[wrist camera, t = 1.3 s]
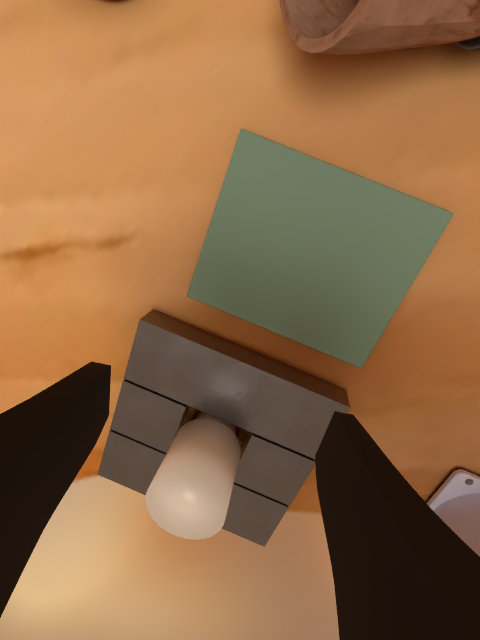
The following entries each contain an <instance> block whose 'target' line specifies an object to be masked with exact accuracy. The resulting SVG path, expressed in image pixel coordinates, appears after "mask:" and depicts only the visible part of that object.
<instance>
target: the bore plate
mask: <svg viewBox="0 0 480 640" xmlns="http://www.w3.org/2000/svg"><path fill="white" fill-rule="evenodd" d="M189 406H190V407H193V408H195V409H198V410H200V411H202V412H205V413H207V414H209V415H212V416H214V417H216V418H219V419H221V420H223V421H226V422H228V423H230V424H233V425H235V426H238V427H240V428H242V429H245V430H247V431H249V432H248V434H247V436H246V438H245V440H244V442H243V445H242V447H241V454H240V459H239V463H238V467H237V472H236V476H235V480H234V484H233V489H232V493H231V497H230V501H229V506H228V510H227V514H226V518H225V522H224V525H223V527H222V529H225V530H227V531H230V532H232V533H234V534H236V535H239V536H241V537H243V538H246V539H248V540H250V541H252V542H255V543H257V544H259V545H262V546H265V545H266V543H267V542H268V540H269V538H270V537H271V535H272V533H273V532H274V530H275V529H276V527H277V525H278V524H279V522H280V520H281V519H282V517H283V515H284V514H285V512H286V511H287V509H288V505H289V506H290V504H291V503H292V501H293V499H294V498H295V496H296V494H297V493H298V491H299V490H300V488H301V486H302V485H303V483H304V481H305V480H306V478H307V477H308V475H309V473H310V472H311V470H312V468H313V467H314V465H315V464H316V463H315V455H316V453H317V450H318V448H319V446H320V443H321V441H322V439H323V437H324V434H325V432H326V430H327V427H328V425H329V423H330V420H331V418H332V416H333V414H334V411H337V412H342V413H347V411H348V410H349V408H350V405H349V401H348V397H347V392H346V390H345V389H342V388H340V387H338V386H335V385H333V384H331V383H328V382H326V381H323V380H321V379H319V378H316V377H314V376H311V375H309V374H307V373H304V372H302V371H299V370H297V369H295V368H292V367H290V366H287V365H285V364H283V363H280V362H278V361H275V360H273V359H271V358H268V357H266V356H263V355H261V354H259V353H256V352H254V351H251V350H249V349H247V348H244V347H242V346H239V345H237V344H235V343H232V342H230V341H227V340H225V339H223V338H220V337H218V336H215V335H213V334H211V333H208V332H206V331H203V330H201V329H199V328H196V327H194V326H191V325H189V324H187V323H184V322H182V321H180V320H177V319H175V318H172V317H170V316H168V315H165V314H163V313H160V312H158V311H156V310H152V311H150V312H149V313H148V314H146V315H145V316H144V317H142V318H141V319H140V321H139V324H138V328H137V332H136V335H135V339H134V343H133V346H132V350H131V354H130V357H129V361H128V365H127V368H126V372H125V376H124V380H123V383H122V387H121V391H120V394H119V398H118V402H117V405H116V409H115V413H114V416H113V420H112V424H111V427H110V429H111V430H110V431H109V435H108V438H107V442H106V446H105V449H104V453H103V457H102V460H101V464H100V468H99V471H98V475H100V476H103V477H105V478H107V479H109V480H112V481H114V482H117V483H119V484H121V485H123V486H126V487H128V488H130V489H132V490H135V491H137V492H139V493H142V494H144V495H146V492H147V490H148V488H149V486H150V484H151V482H152V480H153V479H154V477H155V475H156V473H157V471H158V469H159V467H160V465H161V463H162V461H163V460H164V458H165V456H166V454H167V452H168V450H169V448H170V446H171V444H172V442H173V440H174V439H175V437H176V435H177V433H178V431H179V429H180V428H181V426H182V423H183V421H184V418H185V415H186V413H187V410H188V407H189Z"/></svg>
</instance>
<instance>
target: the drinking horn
mask: <svg viewBox="0 0 480 640" xmlns="http://www.w3.org/2000/svg"><path fill="white" fill-rule="evenodd" d="M280 7H281V11H282V16H283V21H284V24H285V26H286V29H287V32H288V34H289V36H290V37H291V39H292V41H293V42H294V44H295V45H297V46H298V47H299V48H300V49H301V50H303V51H306V52H309V53H318V54H331V55H350V54H366V53H376V52H383V51H391V50H399V49H408V48H417V47H426V46H435V45H441V44H447V43H454V44H456V45H458V46H460V47H462V48H464V49H466V50H474V49H480V0H280Z"/></svg>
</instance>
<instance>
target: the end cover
mask: <svg viewBox="0 0 480 640" xmlns="http://www.w3.org/2000/svg"><path fill="white" fill-rule="evenodd" d="M235 434H236V426H235V425H233V424H230V423H228V422H226V421H223V420H221V419H219V418H216V417H214V416H212V415H209V414H207V413H205V412H202V411H201V412H200V413H199V414H198V415H197V417H196V419H194V420H191V421H189V422H187V423H185V424H184V425H183V426H182V427H181V428H180V429H179V431H178V433H177V435H176V437H175V439H174V440H173V442H172V444H171V446H170V448H169V450H168V452H167V454H166V456H165V458H164V460H163V461H162V463H161V465H160V467H159V469H158V471H157V473H156V475H155V477H154V479H153V480H152V482H151V484H150V486H149V488H148V490H147V492H146V497H145V504H146V508H147V510H148V513H149V514H150V516H151V518H152V519H153V520H154V521H155V522H156V524H158V525H159V526H160V527H161V528H163V529H164V530H165V531H167V532H169V533H171V534H173V535H175V536H178V537H181V538H185V539H194V540H195V539H197V540H198V539H205V538H208V537H211V536H213V535H215V534H216V533H217V532H219V531H220V530H221V528H222V527H223V525H224V522H225V518H226V514H227V510H228V506H229V501H230V497H231V493H232V489H233V484H234V480H235V476H236V472H237V467H238V463H239V459H240V454H241V447H240V443H239V440H238V438H237V437H236V435H235Z"/></svg>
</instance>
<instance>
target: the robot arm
mask: <svg viewBox="0 0 480 640" xmlns="http://www.w3.org/2000/svg"><path fill="white" fill-rule="evenodd" d="M110 377H111V365H106V364H101V363H96V362H90V363H88V364H87V365H85V366H83V367H82V368H80V369H78V370H77V371H75V372H73V373H72V374H70V375H68V376H67V377H65V378H63V379H62V380H60V381H59V382H57V383H55V384H54V385H52V386H50V387H48V388H47V389H45V390H43V391H42V392H40V393H38V394H36V395H35V396H33V397H31V398H30V399H28V400H26V401H24V402H22V403H20V404H18V405H16V406H15V407H13V408H11V409H9V410H7V411H5V412H3V413H1V414H0V617H1V615H2V613H3V611H4V609H5V607H6V605H7V603H8V600H9V598H10V596H11V594H12V592H13V590H14V588H15V586H16V584H17V582H18V580H19V578H20V576H21V573H22V571H23V569H24V568H25V566H26V564H27V562H28V559H29V558H30V556H31V554H32V552H33V549H34V548H35V546H36V544H37V542H38V540H39V538H40V535H41V534H42V532H43V530H44V528H45V526H46V525H47V523H48V521H49V519H50V518H51V516H52V514H53V512H54V511H55V509H56V508H57V506H58V504H59V503H60V501H61V499H62V498H63V496H64V495H65V493H66V491H67V490H68V488H69V487H70V485H71V483H72V482H73V480H74V479H75V477H76V475H77V474H78V472H79V470H80V469H81V467H82V466H83V464H84V462H85V461H86V459H87V457H88V456H89V454H90V453H91V451H92V449H93V448H94V446H95V444H96V442H97V440H98V438H99V436H100V434H101V432H102V429H103V427H104V425H105V423H106V420H107V418H108V416H109V401H110ZM315 463H316V480H317V490H318V496H319V501H320V507H321V512H322V517H323V523H324V528H325V533H326V538H327V543H328V549H329V554H330V559H331V564H332V571H333V578H334V585H335V595H336V605H337V615H338V626H339V637H340V640H480V476H477V475H475V474H472V473H470V472H468V471H465V470H462V469H458V470H455V471H454V472H453V473H452V474H451V475H450V476H449V478H448V479H447V480H446V481H445V482H444V483H443V485H442V486H441V487H440V488H439V489H438V491H437V492H436V493H435V494H434V495H433V496H432V498H431V499H430V500H429V501H428V502H427V503H426V502H425V501H424V500H423V499H422V498H421V497H420V496H419V495H418V493H417V492H416V491H415V490H414V489H413V488H412V487H411V486H410V484H409V483H408V482H407V481H406V480H405V479H404V477H403V476H402V475H401V474H400V473H399V471H398V470H397V469H396V468H395V467H394V465H393V464H392V463H391V462H390V460H389V459H388V458H387V457H386V455H385V454H384V453H383V452H382V450H381V449H380V448H379V447H378V445H377V444H376V443H375V442H374V440H373V439H372V438H371V436H370V435H369V434H368V433H367V431H366V430H365V429H364V428H363V426H362V425H361V424H360V423H359V421H358V420H357V419H356V418H355V417H354V415H351V414H346V413H342V412H337V411H334V414H333V416H332V418H331V420H330V423H329V425H328V427H327V430H326V432H325V434H324V437H323V439H322V441H321V443H320V446H319V448H318V450H317V453H316V455H315ZM467 479H470V480H467ZM465 480H467V481H465Z"/></svg>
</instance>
